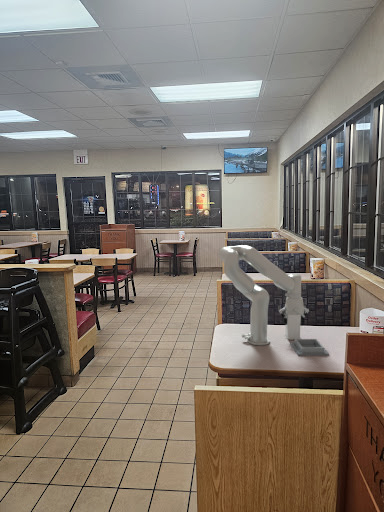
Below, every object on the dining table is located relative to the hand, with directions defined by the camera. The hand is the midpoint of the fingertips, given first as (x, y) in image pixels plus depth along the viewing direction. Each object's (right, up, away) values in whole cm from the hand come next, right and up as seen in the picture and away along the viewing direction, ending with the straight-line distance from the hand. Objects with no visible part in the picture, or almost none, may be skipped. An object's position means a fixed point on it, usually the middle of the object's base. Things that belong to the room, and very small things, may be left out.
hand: (293, 323), depth 208 cm
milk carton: (0, -9, +1) cm, 9 cm away
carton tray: (+4, -11, -15) cm, 19 cm away
